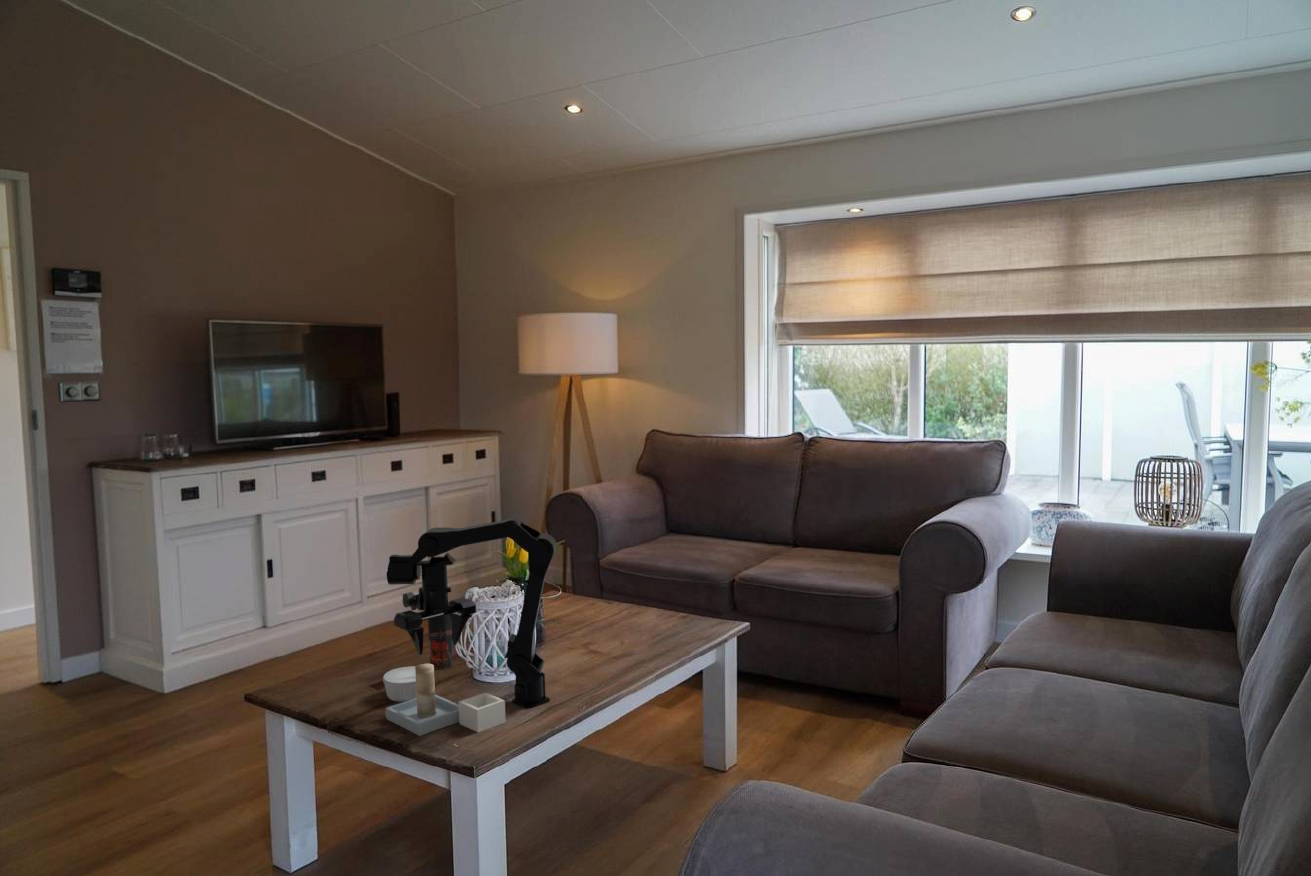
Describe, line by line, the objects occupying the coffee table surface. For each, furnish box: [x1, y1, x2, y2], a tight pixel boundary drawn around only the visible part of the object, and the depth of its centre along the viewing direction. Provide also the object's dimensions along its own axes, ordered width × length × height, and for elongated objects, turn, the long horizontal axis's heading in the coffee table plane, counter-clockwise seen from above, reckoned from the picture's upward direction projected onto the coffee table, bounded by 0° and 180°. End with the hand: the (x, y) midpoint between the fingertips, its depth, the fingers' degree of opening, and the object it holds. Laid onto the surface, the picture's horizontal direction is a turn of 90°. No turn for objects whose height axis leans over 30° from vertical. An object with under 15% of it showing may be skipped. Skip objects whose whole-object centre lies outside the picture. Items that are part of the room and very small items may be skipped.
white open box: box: [458, 692, 507, 733], centre depth 197 cm, size 7×7×5 cm
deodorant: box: [427, 614, 454, 670], centre depth 235 cm, size 6×6×15 cm
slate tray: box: [385, 693, 459, 737], centre depth 200 cm, size 12×14×2 cm
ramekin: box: [382, 665, 417, 703], centre depth 215 cm, size 11×11×5 cm
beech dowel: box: [415, 663, 436, 718], centre depth 200 cm, size 4×4×11 cm
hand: (437, 649), depth 208 cm, fingers open, 9 cm apart
